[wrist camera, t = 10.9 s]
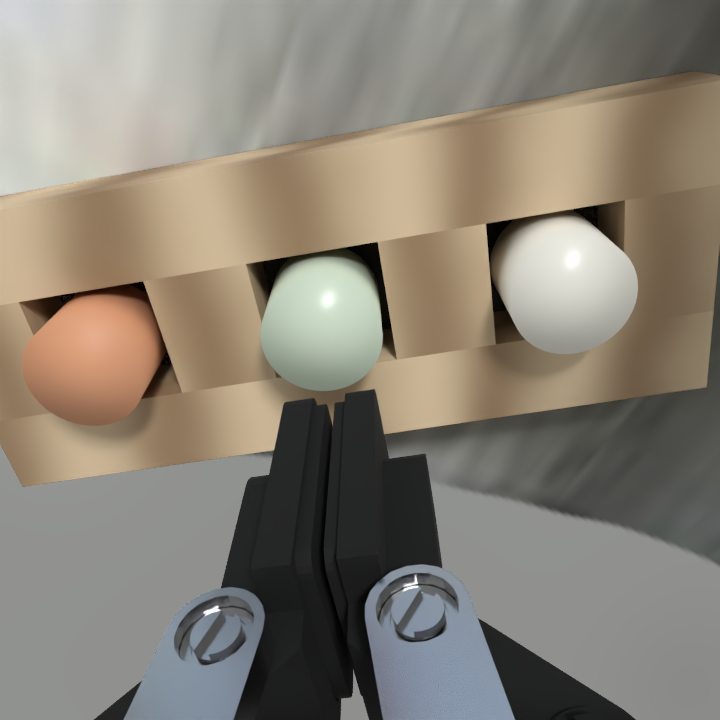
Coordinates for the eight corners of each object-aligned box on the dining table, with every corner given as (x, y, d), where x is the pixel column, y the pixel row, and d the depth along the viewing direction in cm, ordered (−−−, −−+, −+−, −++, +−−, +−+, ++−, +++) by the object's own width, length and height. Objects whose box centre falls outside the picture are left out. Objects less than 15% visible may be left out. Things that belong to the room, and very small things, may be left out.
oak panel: (693, 70, 24) (735, 77, 21) (675, 354, 30) (706, 387, 27) (-66, 208, 26) (-113, 229, 24) (50, 447, 32) (22, 486, 29)
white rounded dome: (599, 197, 25) (640, 227, 22) (599, 301, 27) (636, 344, 24) (486, 216, 25) (507, 249, 22) (494, 317, 27) (514, 362, 24)
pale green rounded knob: (369, 236, 26) (372, 271, 22) (386, 334, 28) (391, 381, 24) (261, 254, 26) (246, 291, 22) (286, 350, 28) (275, 399, 25)
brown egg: (151, 273, 26) (119, 313, 23) (183, 367, 28) (158, 416, 25) (48, 290, 27) (1, 332, 23) (87, 382, 29) (49, 433, 25)
